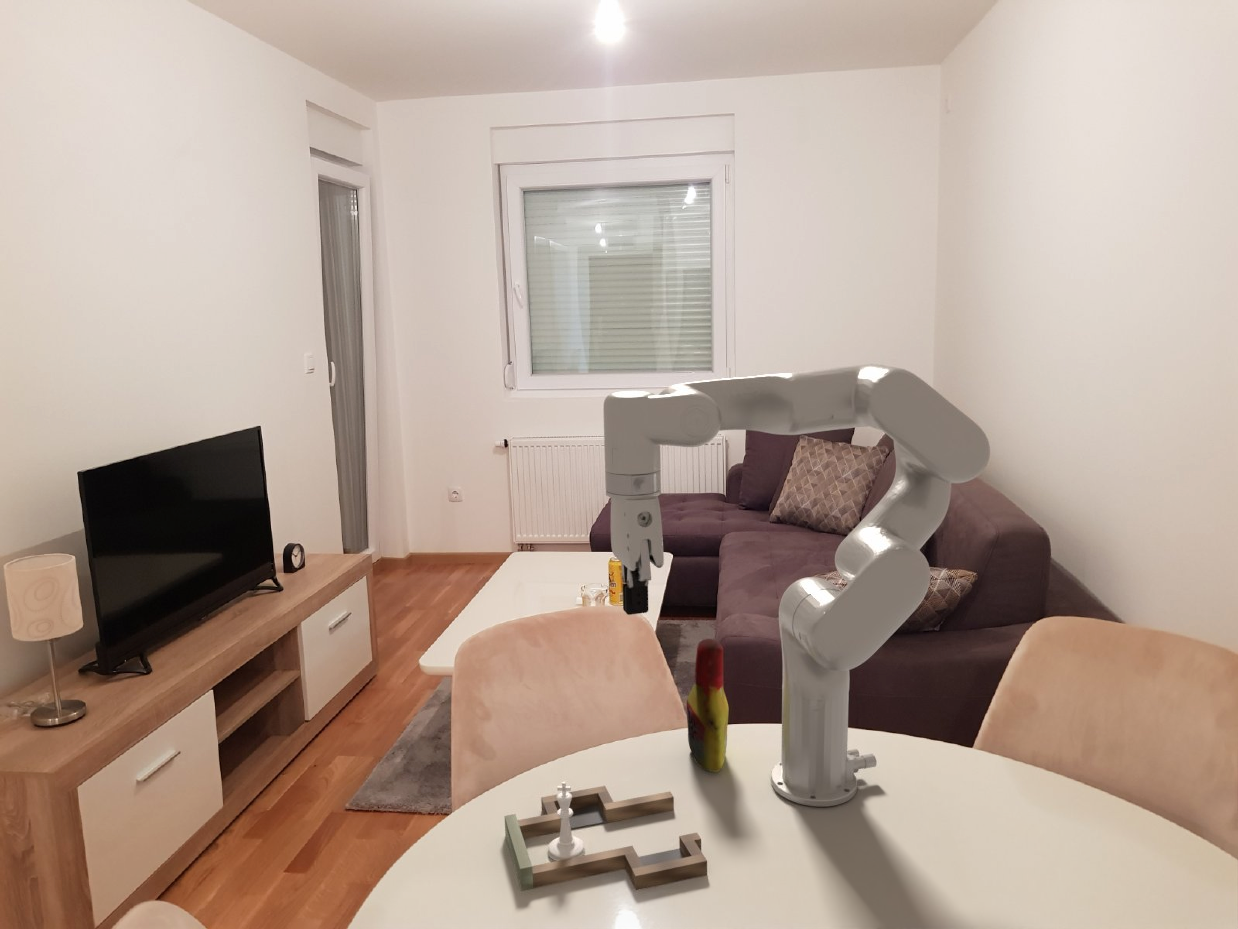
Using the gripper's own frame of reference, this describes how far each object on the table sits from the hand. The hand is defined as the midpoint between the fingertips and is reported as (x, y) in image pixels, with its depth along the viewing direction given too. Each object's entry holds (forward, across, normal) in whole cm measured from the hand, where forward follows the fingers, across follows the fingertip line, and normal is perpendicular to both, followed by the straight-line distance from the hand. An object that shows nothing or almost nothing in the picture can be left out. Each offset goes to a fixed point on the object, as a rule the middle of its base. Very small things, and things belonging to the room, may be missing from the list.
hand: (635, 611), depth 123 cm
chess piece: (+29, -8, +13) cm, 33 cm away
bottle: (+29, +8, -14) cm, 33 cm away
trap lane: (+29, -8, +8) cm, 31 cm away
